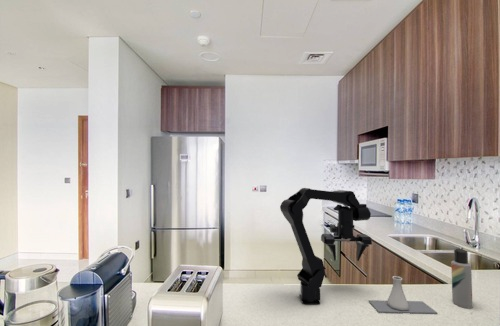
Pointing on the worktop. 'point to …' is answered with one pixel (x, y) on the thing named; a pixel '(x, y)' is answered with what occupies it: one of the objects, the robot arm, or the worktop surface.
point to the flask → (397, 295)
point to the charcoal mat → (414, 308)
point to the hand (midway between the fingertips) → (346, 260)
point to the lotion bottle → (461, 279)
